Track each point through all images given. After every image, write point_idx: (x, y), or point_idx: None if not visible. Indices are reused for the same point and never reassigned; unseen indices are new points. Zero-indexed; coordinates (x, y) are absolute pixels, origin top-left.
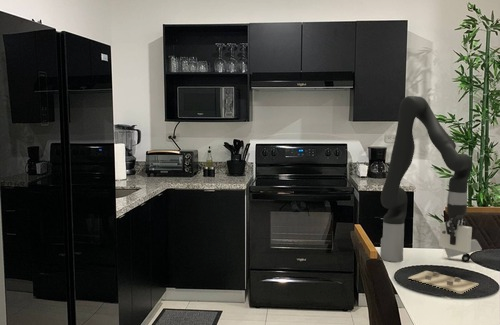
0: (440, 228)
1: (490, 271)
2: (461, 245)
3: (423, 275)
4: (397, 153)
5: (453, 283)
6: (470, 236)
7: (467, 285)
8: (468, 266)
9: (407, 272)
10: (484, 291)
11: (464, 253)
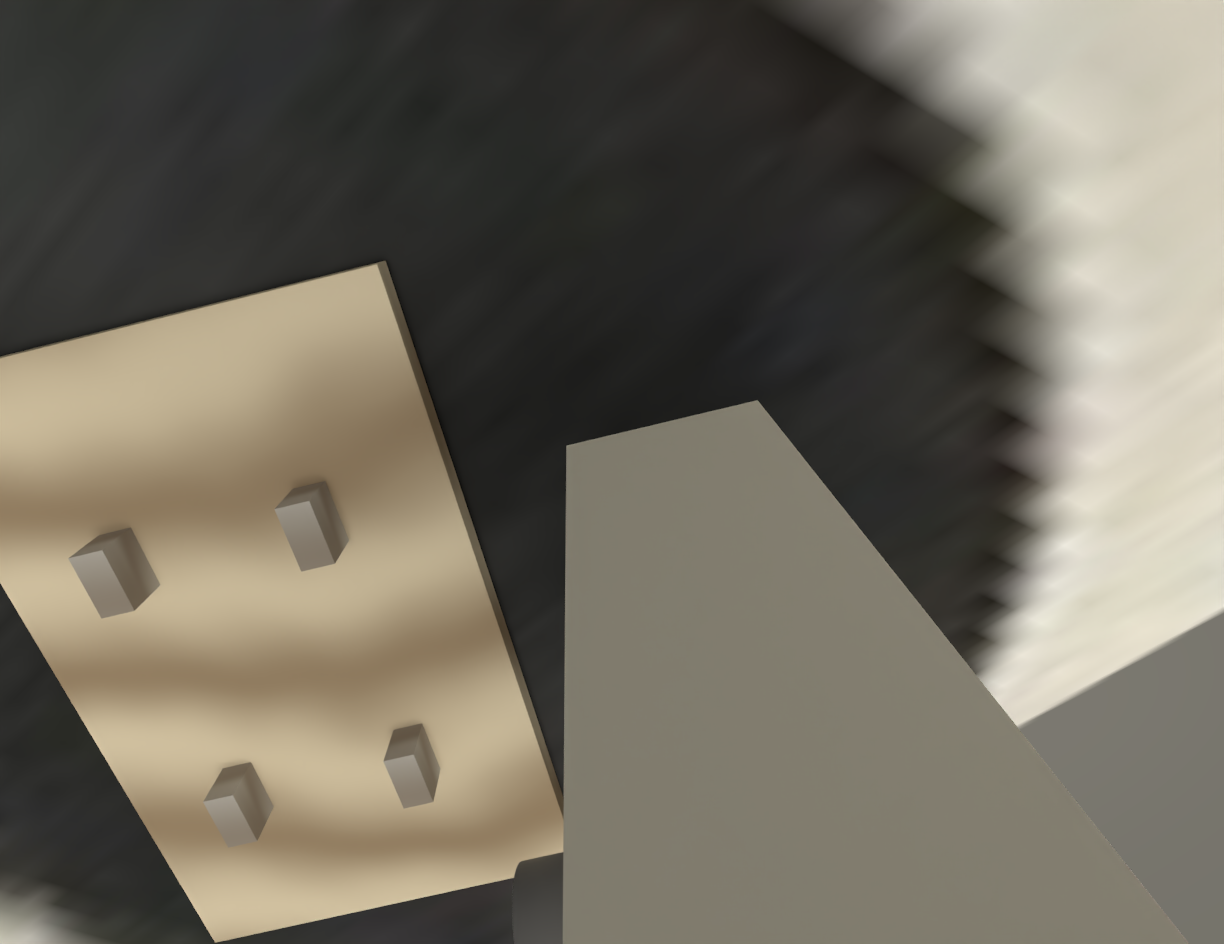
0: (576, 885)
1: (1192, 578)
2: None
3: (169, 420)
4: None
5: (323, 772)
6: None
7: (418, 860)
8: (1205, 305)
9: (110, 91)
10: (500, 939)
11: None
